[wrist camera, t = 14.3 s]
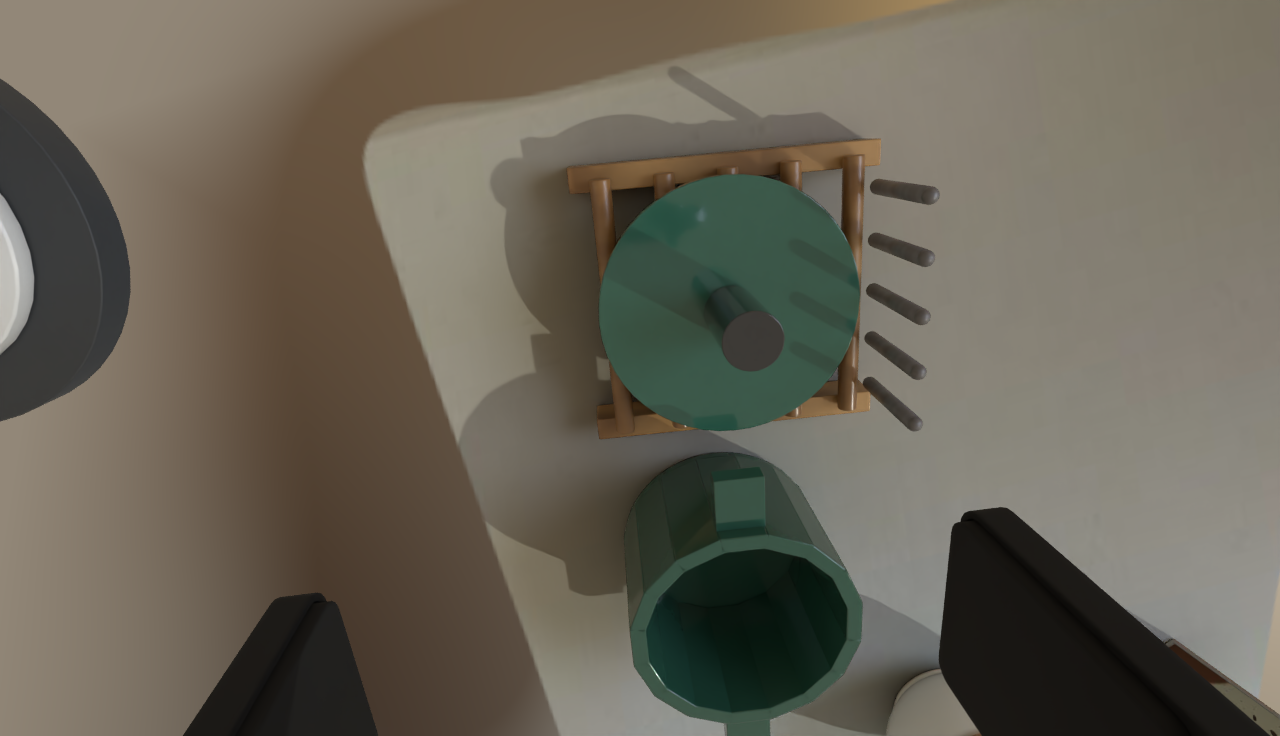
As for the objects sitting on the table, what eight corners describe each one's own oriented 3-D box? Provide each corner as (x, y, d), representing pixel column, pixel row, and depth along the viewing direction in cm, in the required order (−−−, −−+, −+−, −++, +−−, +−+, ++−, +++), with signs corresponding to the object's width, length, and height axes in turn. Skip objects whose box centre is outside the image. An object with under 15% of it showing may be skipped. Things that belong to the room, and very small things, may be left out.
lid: (612, 433, 33) (614, 493, 28) (584, 186, 29) (580, 197, 23) (848, 408, 34) (897, 462, 28) (855, 160, 29) (915, 165, 24)
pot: (637, 652, 42) (646, 772, 34) (611, 421, 36) (614, 500, 28) (809, 632, 43) (857, 746, 35) (810, 400, 37) (869, 473, 29)
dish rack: (599, 424, 36) (599, 502, 29) (568, 166, 32) (557, 175, 24) (856, 397, 37) (925, 467, 29) (864, 138, 32) (951, 138, 24)
